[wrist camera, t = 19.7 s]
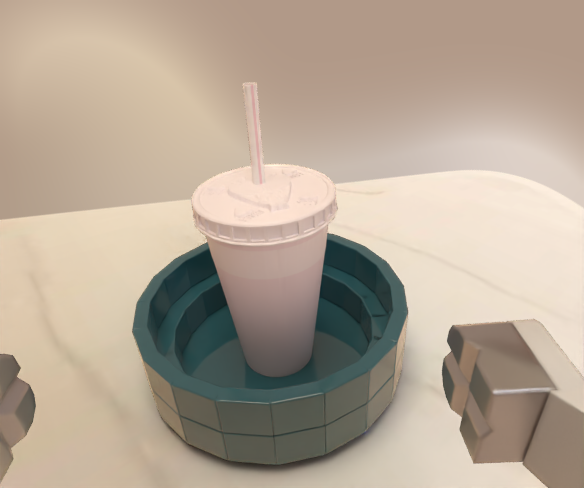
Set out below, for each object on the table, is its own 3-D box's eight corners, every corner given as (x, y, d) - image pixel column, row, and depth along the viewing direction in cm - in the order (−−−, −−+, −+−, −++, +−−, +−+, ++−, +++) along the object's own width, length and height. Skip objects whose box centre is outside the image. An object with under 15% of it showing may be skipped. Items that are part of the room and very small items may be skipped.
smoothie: (307, 301, 28) (297, 64, 21) (359, 372, 23) (370, 90, 15) (207, 332, 26) (157, 83, 19) (240, 417, 21) (189, 119, 13)
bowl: (106, 368, 25) (82, 305, 22) (275, 263, 33) (270, 208, 30) (278, 543, 17) (269, 473, 14) (445, 346, 25) (456, 281, 22)
